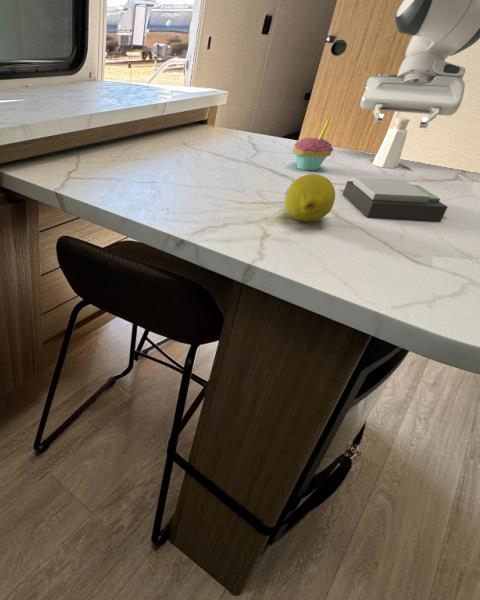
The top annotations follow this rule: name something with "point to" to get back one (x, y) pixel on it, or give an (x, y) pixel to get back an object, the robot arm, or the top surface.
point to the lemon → (309, 198)
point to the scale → (393, 199)
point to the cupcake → (312, 151)
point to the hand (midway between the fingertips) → (400, 124)
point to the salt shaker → (392, 145)
